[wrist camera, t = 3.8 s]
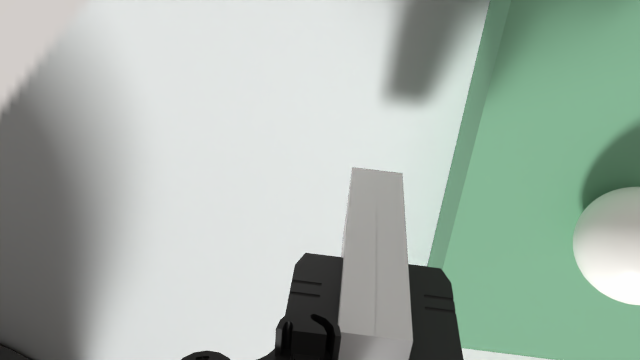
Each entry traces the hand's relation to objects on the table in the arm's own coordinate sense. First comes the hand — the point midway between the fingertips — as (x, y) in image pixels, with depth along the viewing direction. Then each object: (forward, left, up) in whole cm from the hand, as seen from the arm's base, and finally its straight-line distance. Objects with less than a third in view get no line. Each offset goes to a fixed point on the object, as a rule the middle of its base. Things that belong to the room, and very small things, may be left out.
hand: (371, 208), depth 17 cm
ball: (+8, 0, 0) cm, 8 cm away
